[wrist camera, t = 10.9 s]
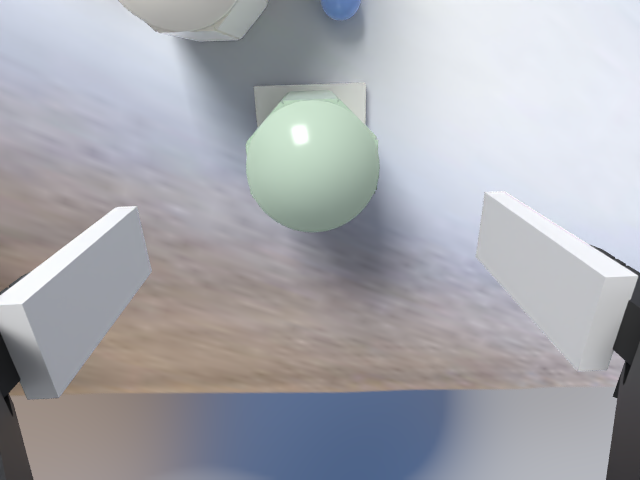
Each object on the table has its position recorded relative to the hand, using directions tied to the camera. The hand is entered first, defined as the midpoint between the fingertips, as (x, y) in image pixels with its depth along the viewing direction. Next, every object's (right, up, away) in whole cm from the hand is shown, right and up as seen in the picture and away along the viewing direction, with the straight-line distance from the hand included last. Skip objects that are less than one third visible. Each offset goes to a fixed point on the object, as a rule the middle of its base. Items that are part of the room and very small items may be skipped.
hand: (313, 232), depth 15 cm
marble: (+2, +18, +15) cm, 24 cm away
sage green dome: (0, +8, +18) cm, 20 cm away
